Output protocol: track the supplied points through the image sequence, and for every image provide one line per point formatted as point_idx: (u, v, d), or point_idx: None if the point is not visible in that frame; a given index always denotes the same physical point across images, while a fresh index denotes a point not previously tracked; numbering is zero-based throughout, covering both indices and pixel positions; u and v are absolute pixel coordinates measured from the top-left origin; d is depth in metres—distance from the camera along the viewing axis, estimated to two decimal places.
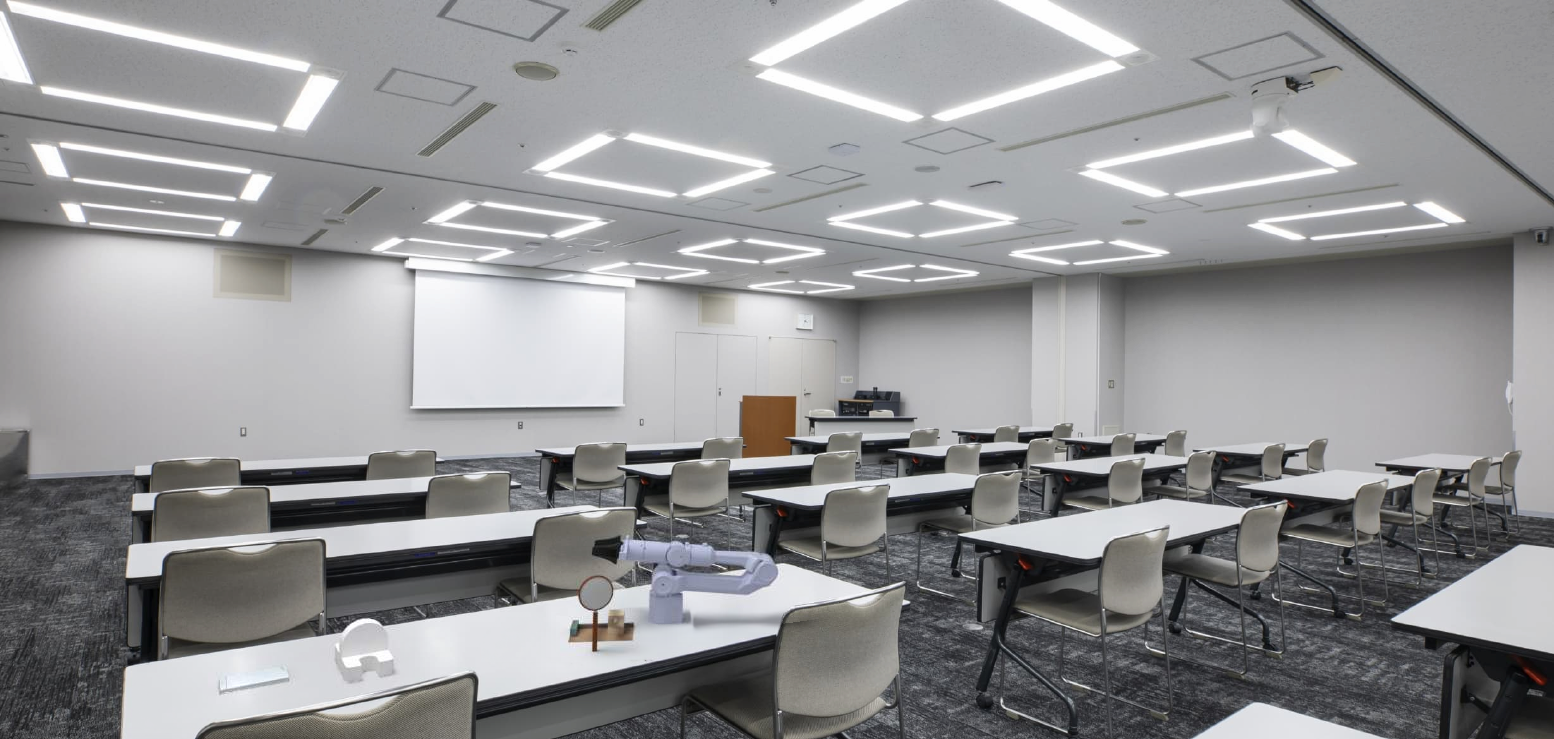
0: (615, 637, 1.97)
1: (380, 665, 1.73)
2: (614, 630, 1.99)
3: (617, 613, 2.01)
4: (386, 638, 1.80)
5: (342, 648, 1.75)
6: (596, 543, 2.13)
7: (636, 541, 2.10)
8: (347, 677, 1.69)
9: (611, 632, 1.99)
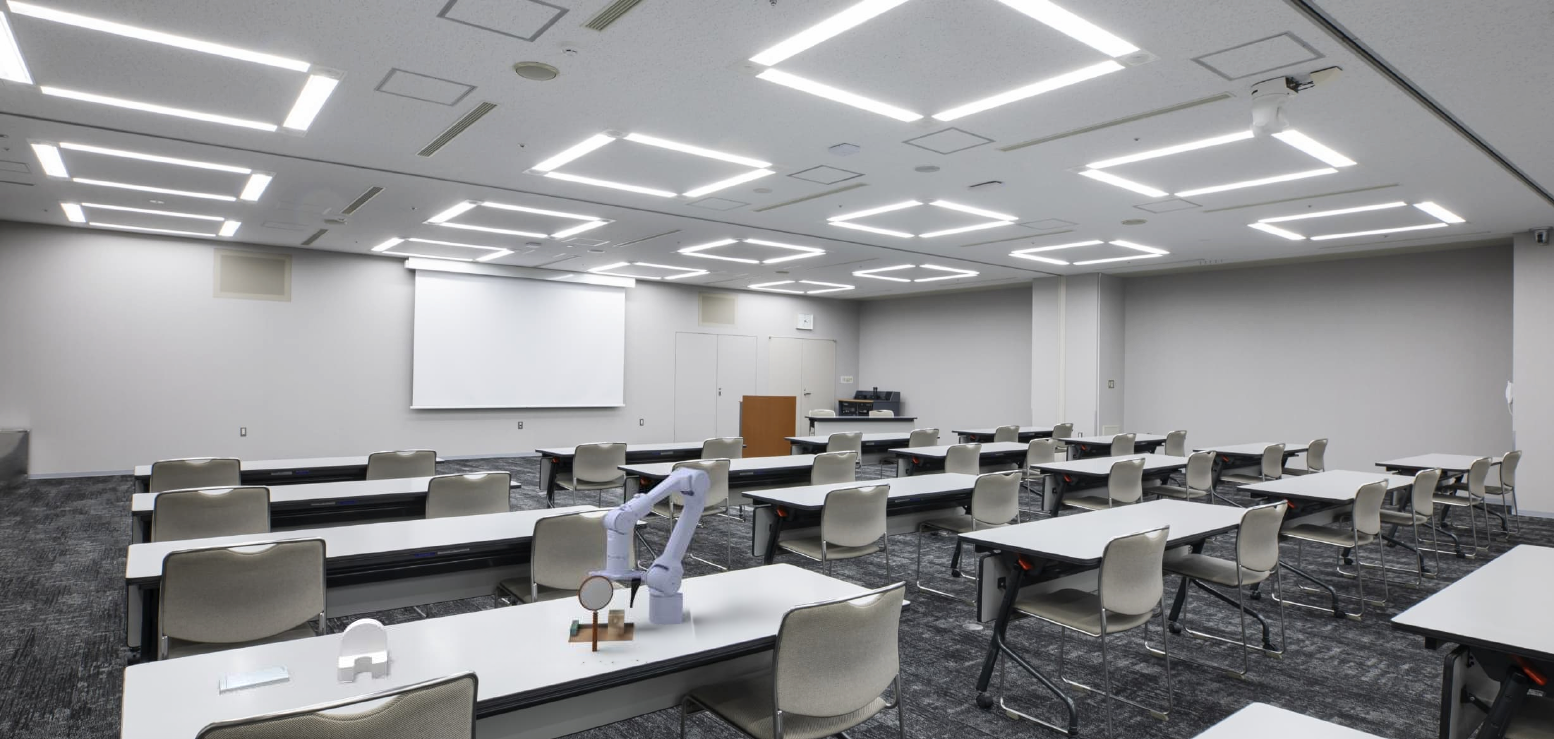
0: (615, 637, 1.97)
1: (373, 667, 1.72)
2: (614, 630, 1.99)
3: (617, 613, 2.01)
4: (385, 639, 1.79)
5: (340, 647, 1.75)
6: None
7: (619, 566, 1.99)
8: (339, 677, 1.69)
9: (611, 632, 1.99)
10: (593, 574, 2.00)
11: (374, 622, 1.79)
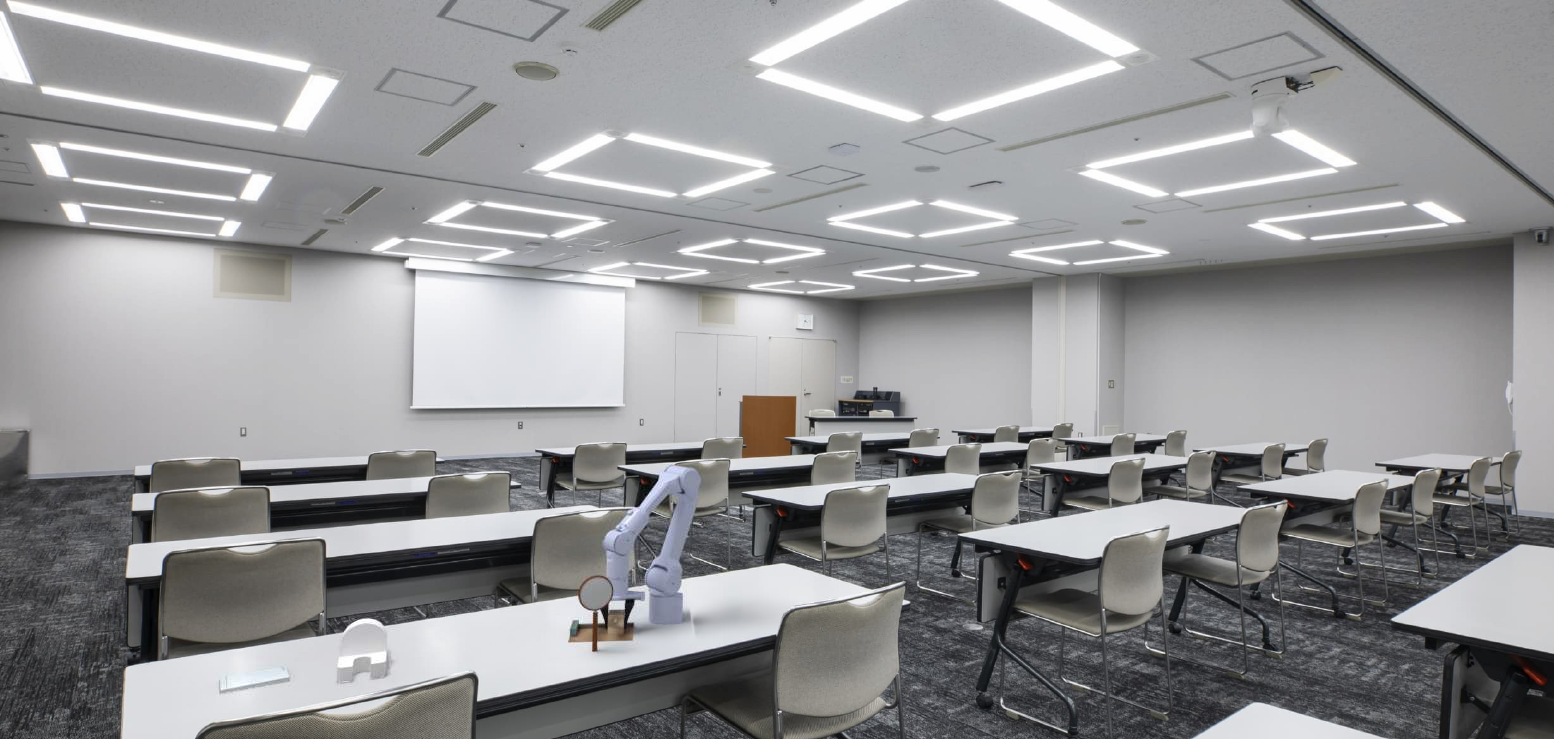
0: (615, 637, 1.97)
1: (371, 667, 1.72)
2: (614, 630, 1.99)
3: (617, 613, 2.01)
4: (385, 639, 1.79)
5: (340, 647, 1.75)
6: None
7: (619, 587, 1.99)
8: (338, 677, 1.69)
9: (611, 632, 1.99)
10: None
11: (374, 622, 1.79)
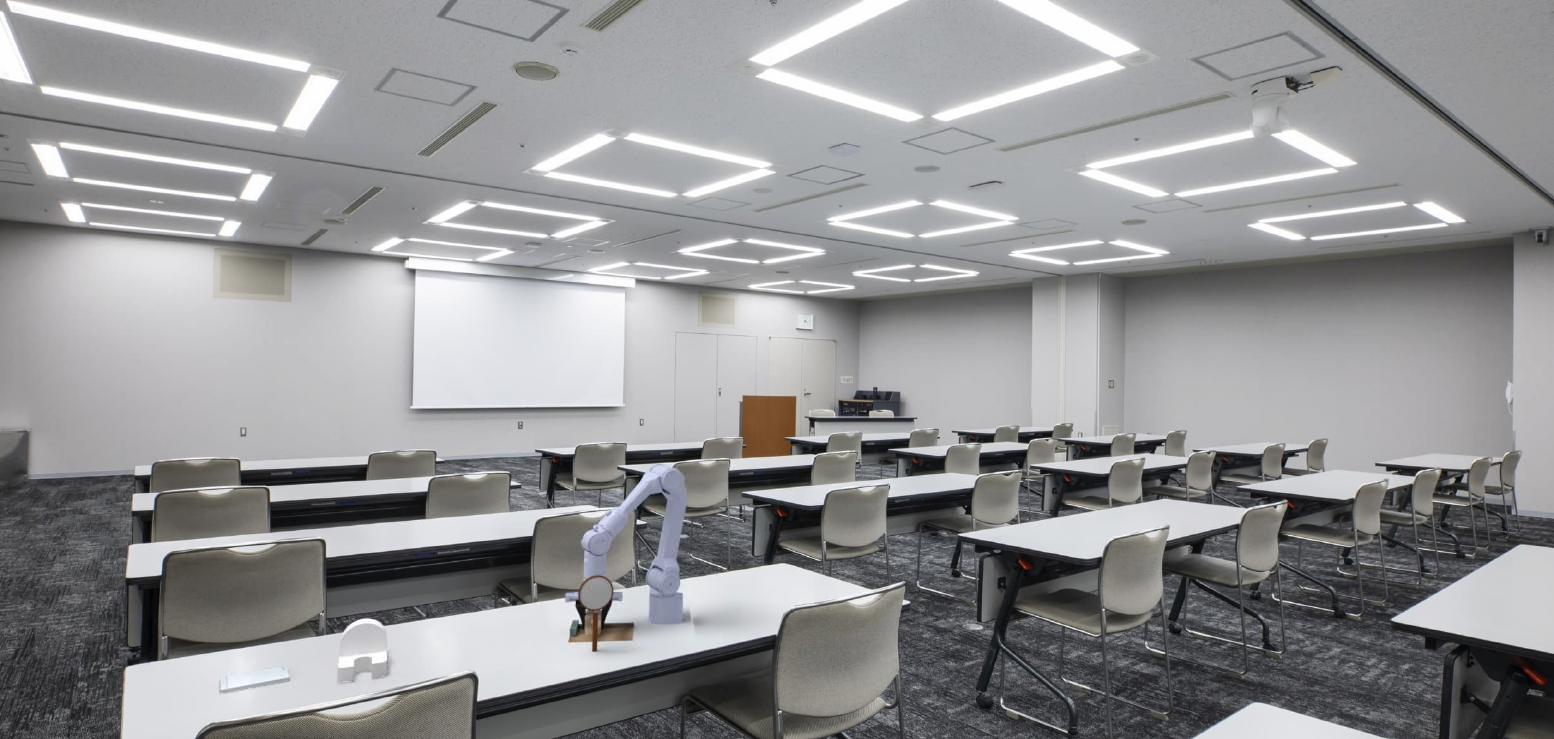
0: (615, 637, 1.97)
1: (372, 667, 1.72)
2: (591, 630, 1.98)
3: None
4: (385, 639, 1.79)
5: (340, 647, 1.75)
6: None
7: None
8: (339, 677, 1.69)
9: (588, 633, 1.98)
10: (569, 596, 1.99)
11: (374, 622, 1.79)
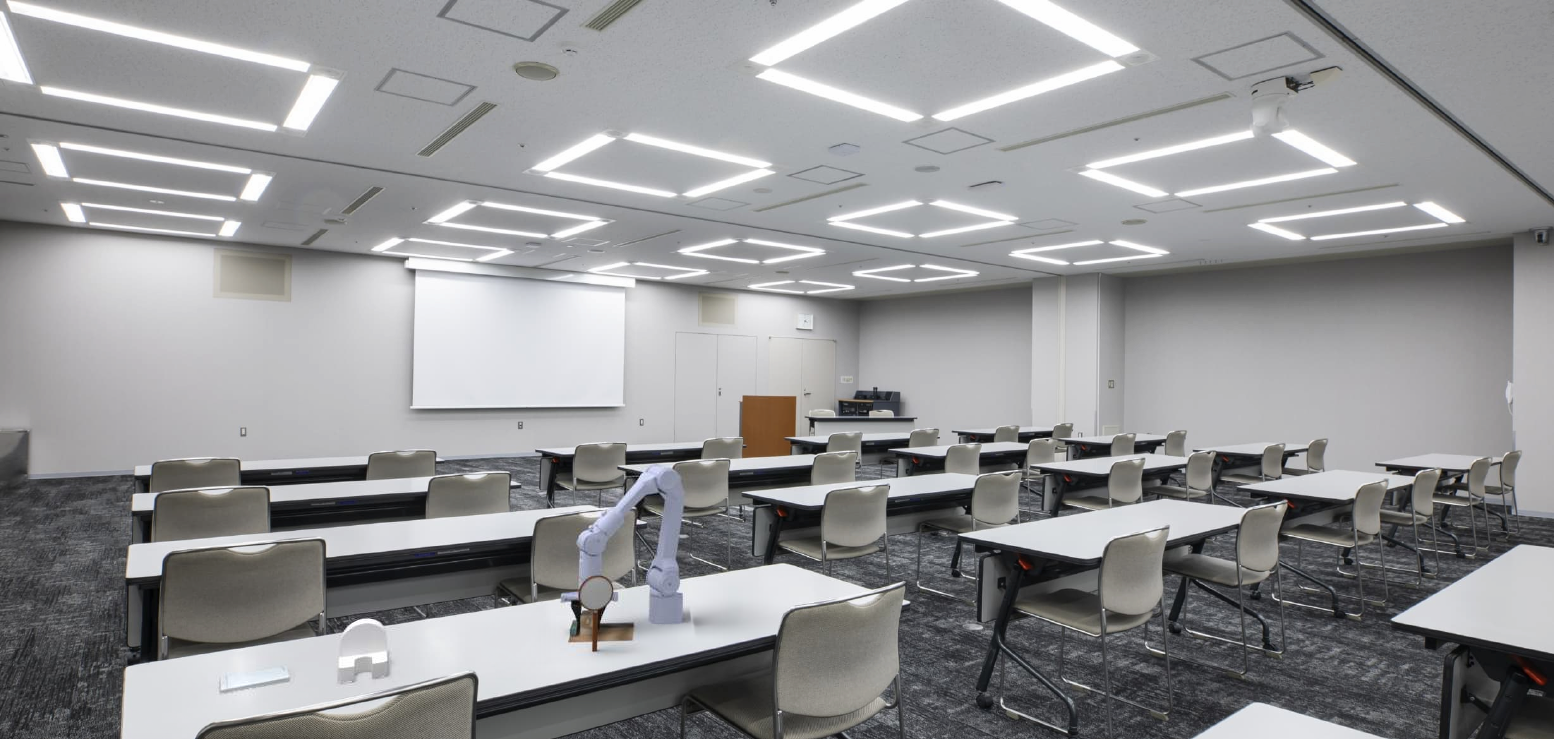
0: (615, 637, 1.97)
1: (373, 667, 1.72)
2: (586, 630, 1.98)
3: (590, 614, 2.00)
4: (385, 639, 1.79)
5: (340, 647, 1.75)
6: None
7: None
8: (340, 677, 1.69)
9: (584, 633, 1.98)
10: (565, 596, 1.99)
11: (374, 622, 1.79)
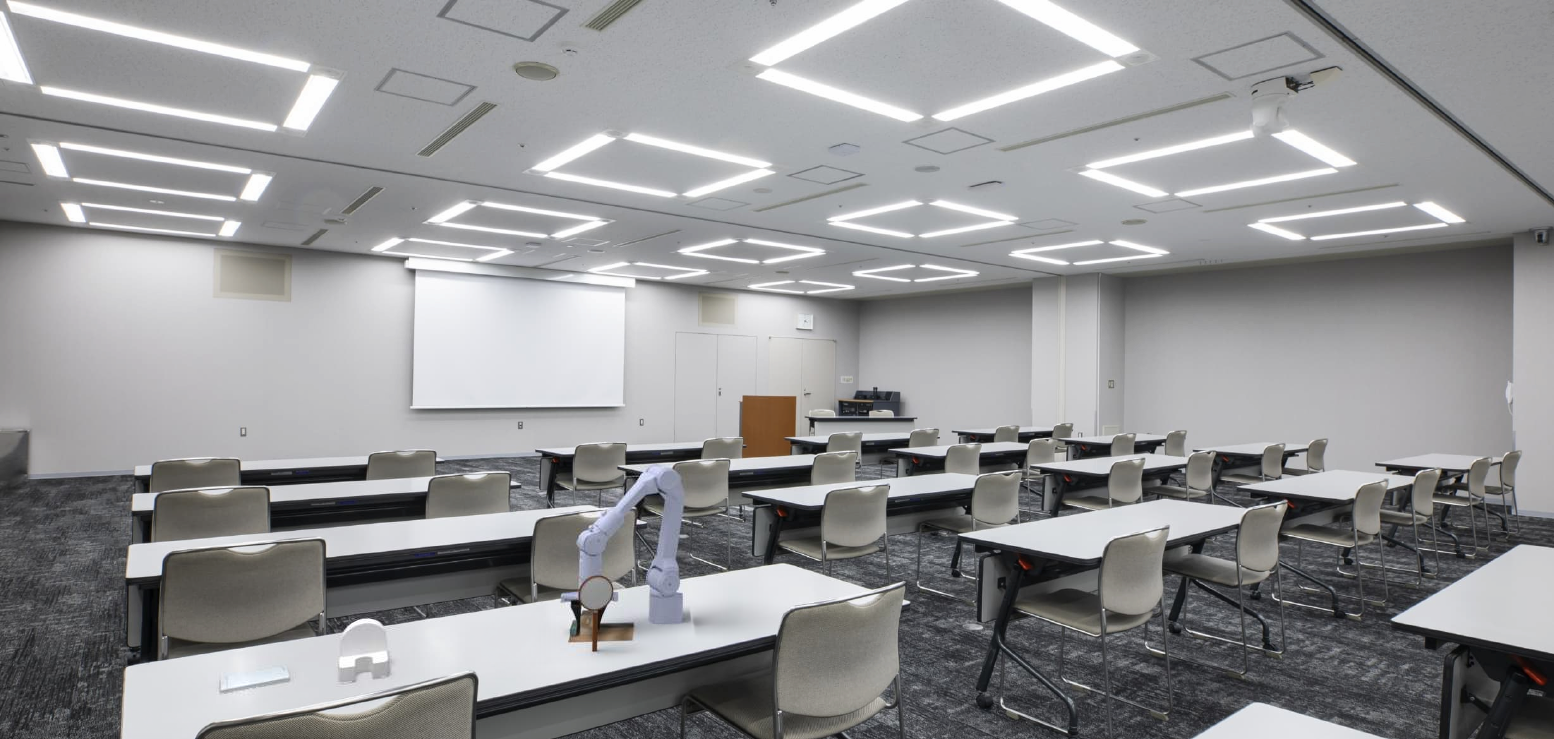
0: (615, 637, 1.97)
1: (373, 667, 1.72)
2: (586, 630, 1.98)
3: (590, 614, 2.00)
4: (385, 639, 1.79)
5: (340, 647, 1.75)
6: None
7: None
8: (340, 677, 1.69)
9: (584, 633, 1.98)
10: (565, 596, 1.99)
11: (374, 622, 1.79)
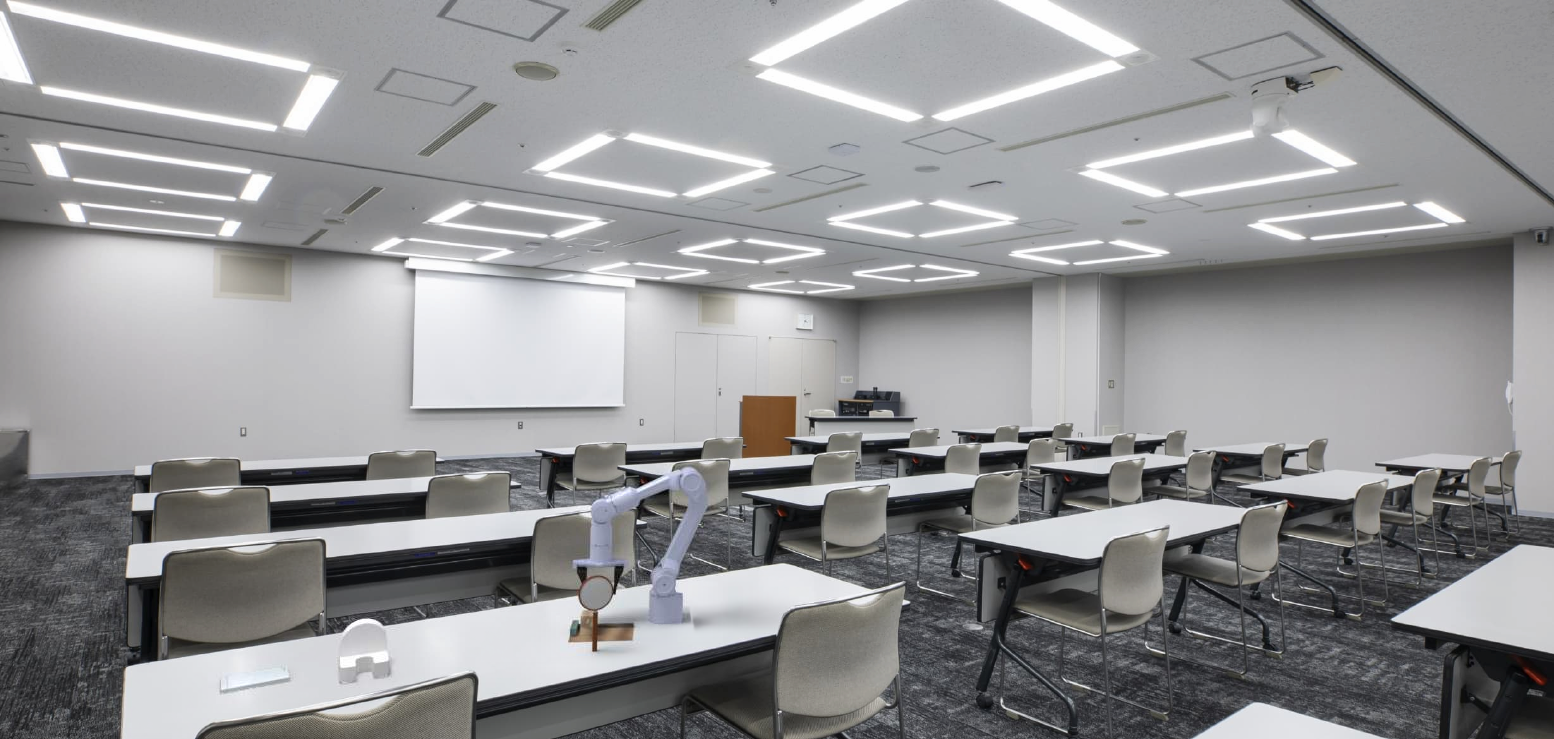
0: (615, 637, 1.97)
1: (374, 666, 1.72)
2: (586, 630, 1.98)
3: (590, 614, 2.00)
4: (385, 639, 1.79)
5: (341, 648, 1.75)
6: None
7: (603, 554, 2.06)
8: (341, 677, 1.69)
9: (584, 633, 1.98)
10: (577, 562, 2.06)
11: (374, 622, 1.79)
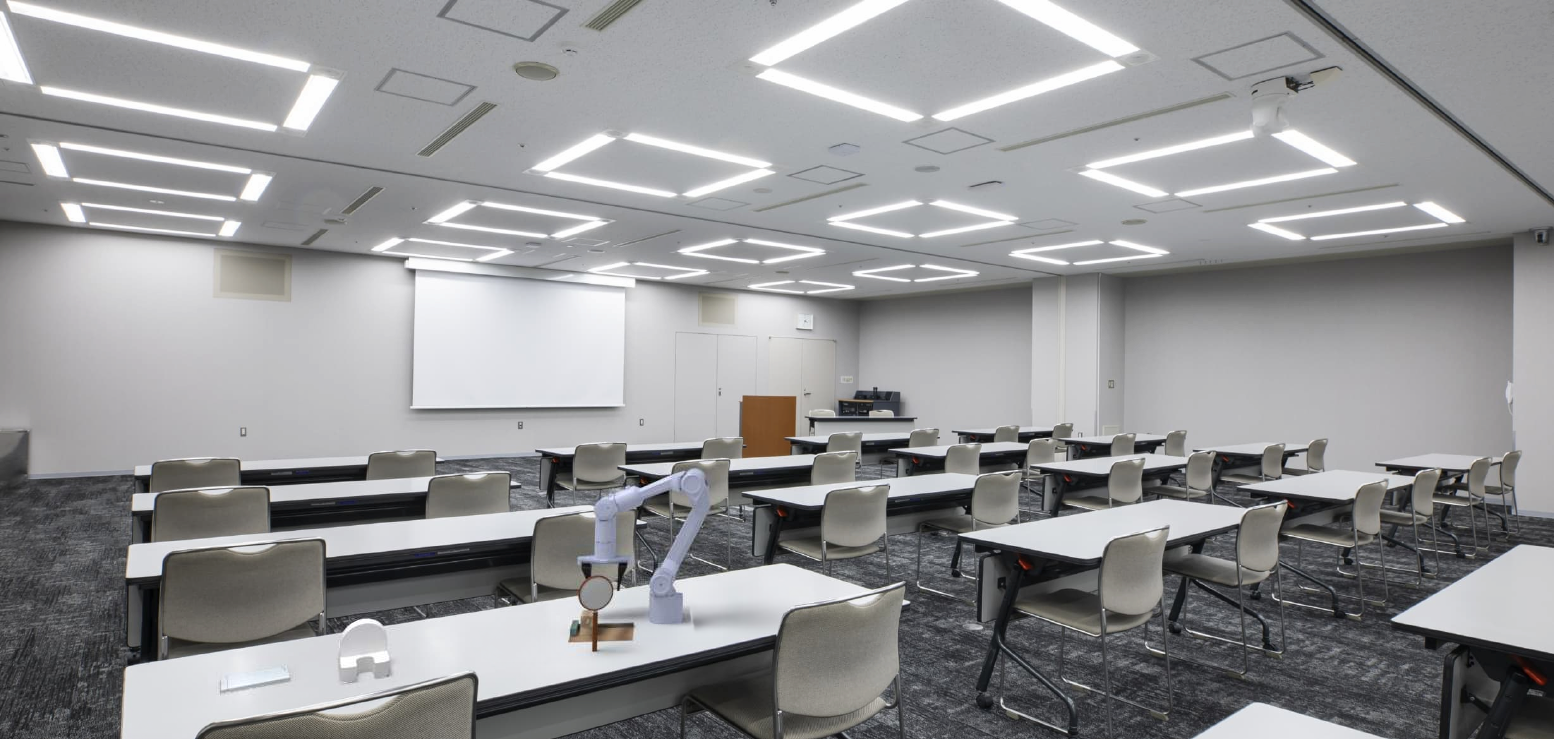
0: (615, 637, 1.97)
1: (375, 666, 1.72)
2: (586, 630, 1.98)
3: (590, 614, 2.00)
4: (385, 639, 1.79)
5: (341, 648, 1.75)
6: None
7: (607, 551, 2.09)
8: (342, 677, 1.69)
9: (584, 633, 1.98)
10: (582, 559, 2.10)
11: (374, 622, 1.79)
